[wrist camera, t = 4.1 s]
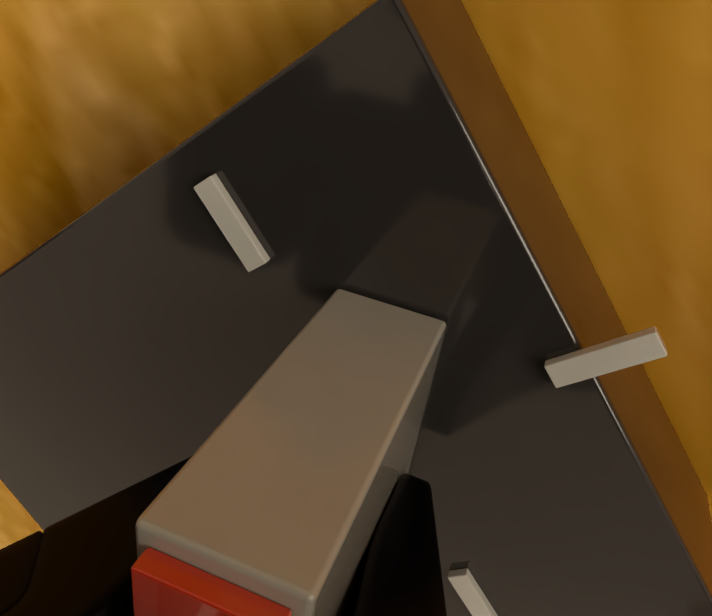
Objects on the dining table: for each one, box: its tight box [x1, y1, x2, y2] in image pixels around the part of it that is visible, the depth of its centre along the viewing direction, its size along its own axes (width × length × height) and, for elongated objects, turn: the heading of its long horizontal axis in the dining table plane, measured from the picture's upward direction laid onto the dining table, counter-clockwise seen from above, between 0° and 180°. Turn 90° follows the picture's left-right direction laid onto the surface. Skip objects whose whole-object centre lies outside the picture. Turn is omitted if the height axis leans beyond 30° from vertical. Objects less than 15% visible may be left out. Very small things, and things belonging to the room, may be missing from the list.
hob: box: [0, 0, 712, 616], centre depth 12 cm, size 14×10×3 cm
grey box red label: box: [131, 289, 446, 616], centre depth 8 cm, size 5×2×5 cm, turn 172°
